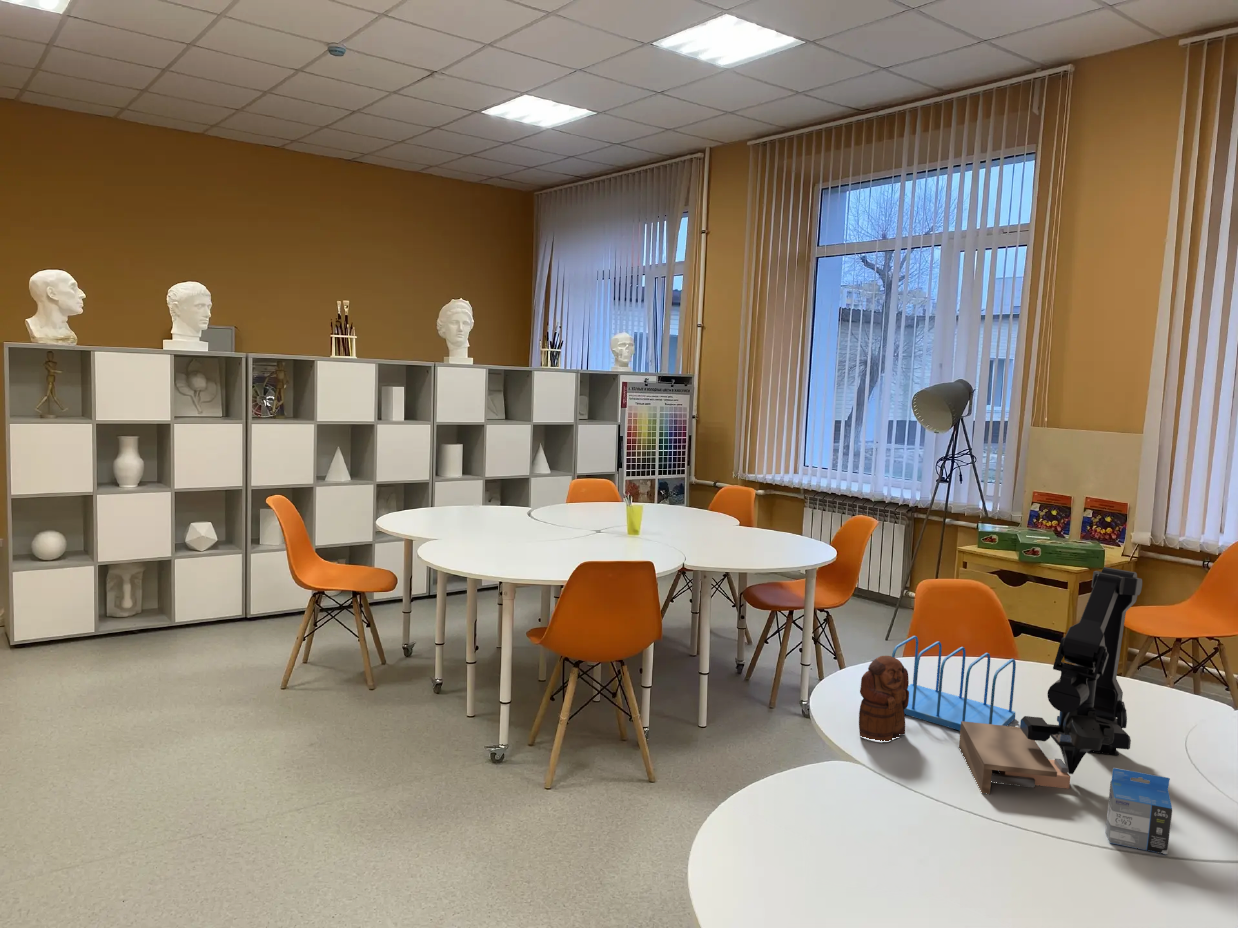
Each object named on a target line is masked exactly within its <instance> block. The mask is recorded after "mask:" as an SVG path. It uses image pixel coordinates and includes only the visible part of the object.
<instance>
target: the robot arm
mask: <svg viewBox="0 0 1238 928" xmlns="http://www.w3.org/2000/svg"><path fill="white" fill-rule="evenodd" d="M1091 579H1092V581H1091V588H1092V590H1091V592H1090V595H1089V597H1088V600H1087V602H1086V605H1085V607H1084V610H1083V612H1082V615H1081V618H1080V620H1079V621H1078V622H1077V623H1075V624H1073V625H1072V626H1070V627H1069V628H1068V630H1067V632H1066V634H1065V636H1063V637H1061V640H1060V642H1059V646H1058V648H1057V652H1056V656H1055V660H1054V663H1053V666H1052V669H1053V670H1054V671H1058V672H1060V676H1059V678H1058V679H1057V680H1056V681H1055V682H1054V683H1053V684H1051V686H1049V688H1048V690H1047V700H1048V702H1049V703H1050V705H1051V706H1052V708H1054V709H1055V710H1056V711H1059V715H1057V717H1056V721H1057V723H1058V724H1049V723H1047V722H1046V720H1045V719H1044V718H1043V717H1039V716H1029V715H1024V716H1023V717H1022V718H1021V719H1020V724H1019V727H1020V729H1021V730H1022V731H1023V733H1024V734H1025V736H1026V737H1027V738H1028V739H1030V740H1035V742H1036V741H1038V742H1047V741H1048V740H1050V739H1051V738H1052V739H1053V741H1054V743H1056V745H1057V746H1058V747H1059V749H1060V752H1061V754H1062V758H1063V762H1064V763H1065V765H1066V766H1067V767H1068V774H1069V775H1074V773H1075V771H1076V769H1077V768H1078V766H1079V765H1080V763H1081V761H1082V759H1083V758H1084V757H1085V755H1086V754H1087V753H1093V754H1103V755H1112V756H1120V752H1119V751H1118V750H1130V749H1131V744H1132V743H1131V742H1132V740H1131V736H1130V735H1129V734H1128V733H1127V732H1126V730H1124V729H1126V728H1127V723H1128V714H1127V708H1126V705H1125V701H1123V696H1124V695H1123V694H1124V692H1123V690H1122V688H1121V686H1120V683H1119V681H1118V679H1117V675H1118V668H1119V663H1120V662H1119V661H1120V657H1121V656H1120V654H1121V647H1122V641H1123V633H1124V627H1125V621H1126V613H1127V612H1128V611H1129V609H1130V608H1131V607H1132V606H1134V604H1135V603H1136V602H1137V599H1138V596H1140V594H1141V592H1142V588H1143V579H1142V578H1139V577H1138V573H1137V572H1136V571H1130V570H1124V569H1123V570H1122V569H1119V568H1118V569H1117V568H1112V567H1106V566H1104V567H1103V568H1102V570H1101V571H1098V570H1094V571H1093V574H1092V578H1091ZM1063 659H1064V661H1063Z"/></svg>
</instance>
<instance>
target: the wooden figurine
mask: <svg viewBox="0 0 1238 928" xmlns="http://www.w3.org/2000/svg"><path fill="white" fill-rule="evenodd" d="M867 669H868V670H867V671H865V672H864V674H863V675H862V677H861V681H860V687H859V688H860V689H859V694H860V696H861V697H862V698H863V699H862V700H861V702H860V704H859V705H860V706H859V711H858V712H859V713H858V727H859V728H858V729H859V737H860V736H862V737H866V738H869V739H875V740H880V741H881V740H882V741H884V740H885V741H889V740H891V741H893V740H892V738H896V737H900V738H901V735H899V734H905V735H906V718H905V716H906V715H905V713H904V709H906V708H907V706H908V702H909V691H908V690H907V689H908V686H909V685H910V684H909V682H910V681H909V680H910V679H909V671H908V670H907V668H906V667H905V666H904V665H903V663H902V662H901V660H899V659H898V658H896V657H895V658H894V657H892V655H880V656H878V657H876V658H874V659H873V660H872V661H871V663H869V665H868V667H867Z"/></svg>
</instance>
